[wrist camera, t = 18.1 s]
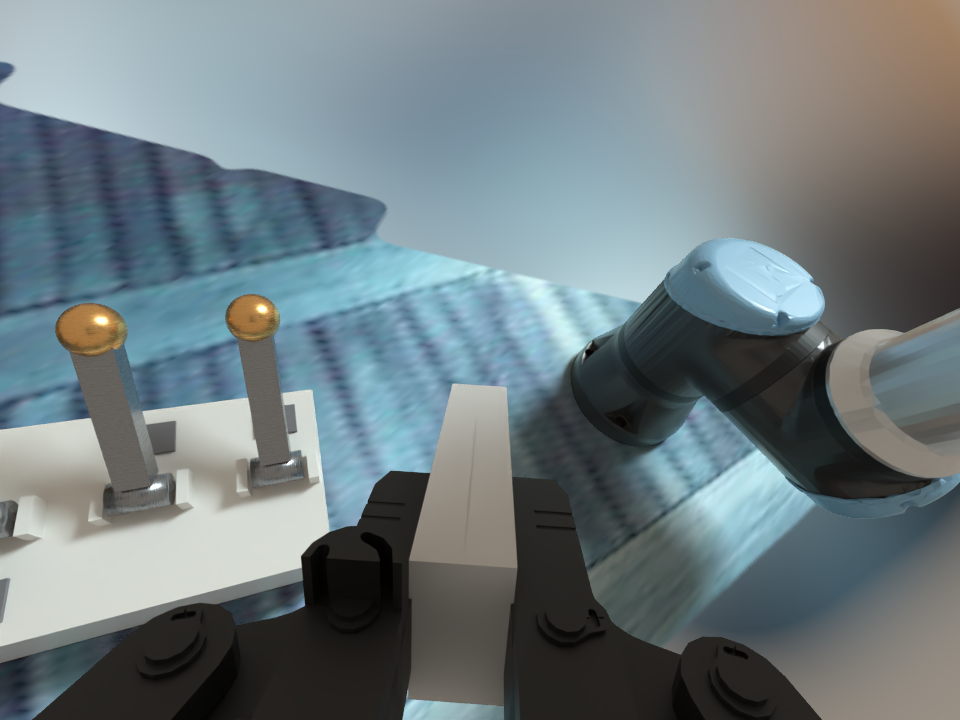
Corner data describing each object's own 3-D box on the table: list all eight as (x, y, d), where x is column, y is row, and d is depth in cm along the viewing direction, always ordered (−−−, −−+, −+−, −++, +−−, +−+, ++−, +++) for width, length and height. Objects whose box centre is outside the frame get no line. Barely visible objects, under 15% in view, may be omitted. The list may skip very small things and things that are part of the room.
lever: (303, 465, 35) (278, 288, 31) (304, 488, 33) (277, 297, 28) (256, 474, 34) (222, 291, 29) (253, 499, 31) (215, 301, 27)
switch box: (316, 425, 45) (310, 380, 37) (334, 572, 39) (332, 556, 31) (15, 472, 37) (-75, 428, 29) (-23, 669, 30) (-152, 681, 23)
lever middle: (179, 488, 32) (129, 296, 27) (168, 516, 30) (111, 307, 25) (122, 499, 31) (60, 300, 26) (106, 528, 28) (32, 312, 23)
